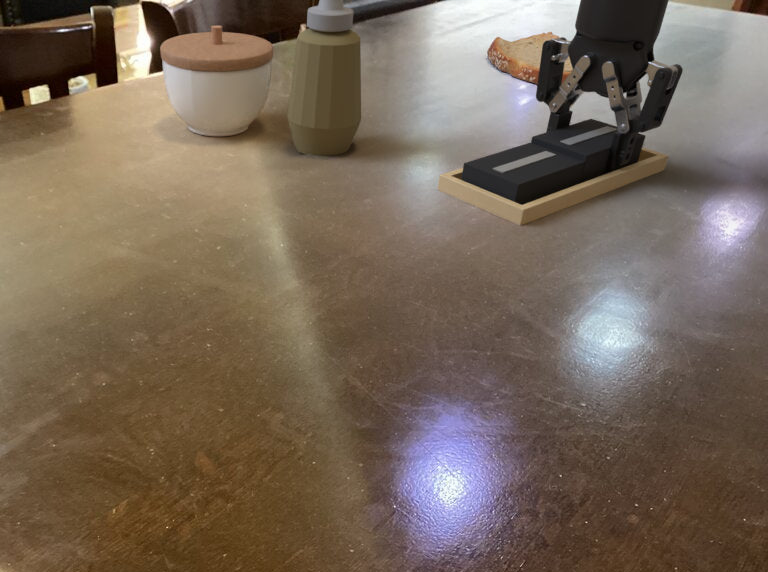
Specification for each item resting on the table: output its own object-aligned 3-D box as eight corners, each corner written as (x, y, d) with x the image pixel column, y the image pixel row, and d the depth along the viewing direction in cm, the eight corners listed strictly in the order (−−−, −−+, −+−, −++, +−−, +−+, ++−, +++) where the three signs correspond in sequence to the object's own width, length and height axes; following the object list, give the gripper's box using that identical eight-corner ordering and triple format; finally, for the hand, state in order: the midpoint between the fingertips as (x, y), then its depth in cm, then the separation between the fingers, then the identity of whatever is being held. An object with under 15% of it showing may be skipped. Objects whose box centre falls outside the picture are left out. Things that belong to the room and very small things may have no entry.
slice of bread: (590, 94, 108) (598, 65, 106) (461, 73, 116) (465, 45, 113) (619, 64, 120) (626, 37, 118) (501, 47, 128) (505, 21, 126)
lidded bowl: (288, 118, 98) (291, 21, 92) (243, 151, 89) (243, 45, 83) (196, 104, 103) (193, 9, 96) (144, 134, 93) (137, 32, 87)
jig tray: (580, 146, 92) (585, 128, 91) (663, 173, 85) (669, 155, 84) (436, 194, 80) (439, 174, 79) (519, 230, 74) (523, 209, 73)
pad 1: (524, 170, 84) (530, 141, 82) (577, 190, 80) (585, 160, 78) (458, 192, 79) (463, 161, 78) (512, 215, 75) (518, 183, 73)
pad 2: (584, 145, 89) (591, 117, 87) (637, 163, 85) (646, 134, 83) (525, 165, 84) (532, 135, 82) (579, 185, 80) (587, 154, 78)
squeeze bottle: (349, 167, 86) (364, -21, 75) (276, 157, 88) (281, -27, 77) (366, 142, 92) (382, -35, 82) (297, 133, 94) (304, -40, 84)
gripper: (727, -12, 71) (668, 171, 81) (586, -36, 81) (548, 131, 90) (680, -3, 68) (624, 188, 78) (538, -29, 77) (504, 144, 87)
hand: (583, 156), depth 84 cm, fingers closed on pad 2, 6 cm apart
